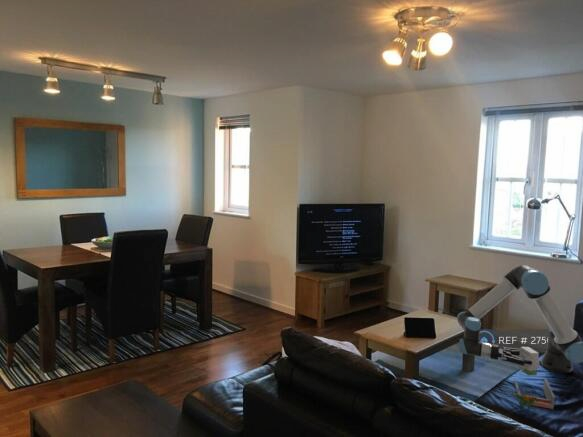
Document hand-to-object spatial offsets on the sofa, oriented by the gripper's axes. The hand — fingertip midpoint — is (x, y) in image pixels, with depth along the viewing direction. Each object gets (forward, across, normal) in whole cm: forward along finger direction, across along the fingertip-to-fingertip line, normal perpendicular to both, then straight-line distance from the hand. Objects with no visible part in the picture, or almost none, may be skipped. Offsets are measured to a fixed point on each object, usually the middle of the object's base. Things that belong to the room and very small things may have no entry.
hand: (538, 359), depth 240 cm
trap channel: (-2, +16, -12) cm, 21 cm away
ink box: (-4, 0, -8) cm, 9 cm away
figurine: (-8, +30, -13) cm, 33 cm away
